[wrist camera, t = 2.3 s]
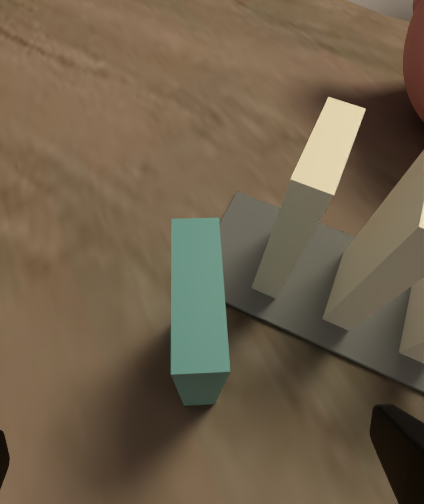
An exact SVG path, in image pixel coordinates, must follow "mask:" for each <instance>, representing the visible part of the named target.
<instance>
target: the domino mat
mask: <svg viewBox="0 0 424 504" xmlns="http://www.w3.org/2000/svg"><path fill="white" fill-rule="evenodd" d="M279 210H280V208H279V207H277V206H274V205H272V204H269V203H266V202H264V201H261V200H259V199H256V198H254V197H251V196H248V195H246V194H243V193H241V192H238V191H237V193H236V194H235V196H234V198H233V200H232V202H231V204H230V205H229V207H228V209H227V211H226V213H225V214H224V216H223V218H222V220H221V222H220V224H219V225H220V238H221V252H222V265H223V279H224V292H225V304H227V305H229V306H232V307H234V308H236V309H238V310H240V311H243V312H245V313H247V314H249V315H251V316H254V317H256V318H258V319H260V320H263V321H265V322H267V323H269V324H271V325H274V326H276V327H278V328H280V329H282V330H285V331H287V332H289V333H291V334H293V335H296V336H298V337H300V338H302V339H304V340H307V341H309V342H311V343H313V344H316V345H318V346H320V347H322V348H324V349H327V350H329V351H331V352H333V353H335V354H338V355H340V356H342V357H344V358H346V359H349V360H351V361H353V362H355V363H357V364H360V365H362V366H364V367H366V368H368V369H371V370H373V371H375V372H377V373H380V374H382V375H384V376H386V377H388V378H391V379H393V380H395V381H397V382H399V383H402V384H404V385H406V386H408V387H410V388H413V389H415V390H417V391H419V392H421V393H424V363H421V362H419V361H417V360H414V359H412V358H410V357H408V356H405V355H403V354H401V353H399V349H400V344H401V339H402V333H403V328H404V323H405V318H406V313H407V308H408V302H409V297H410V292H411V287H412V286H411V287H410V288H408V289H407V290H405V291H404V292H403V293H401V294H400V295H398V296H397V297H395V298H394V299H393V300H391V301H390V302H388V303H387V304H386V305H384V306H383V307H381V308H380V309H379V310H377V311H376V312H374V313H373V314H372V315H370V316H369V317H367V318H366V319H365V320H363V321H362V322H360V323H359V324H358V325H356V326H355V327H353V328H352V329H351V330H349V331H348V330H346V329H344V328H341V327H339V326H337V325H335V324H332V323H330V322H328V321H325V320H323V319H322V318H323V315H324V312H325V309H326V306H327V303H328V299H329V296H330V293H331V290H332V287H333V284H334V281H335V277H336V274H337V271H338V268H339V265H340V262H341V258H342V255H343V252H344V251H345V250H346V248H347V247H348V246H349V244H350V243H351V242H352V241H353V239H354V238H355V237H354V236H351V235H349V234H346V233H344V232H341V231H339V230H336V229H333V228H331V227H328V226H326V225H323V224H321V223H318V225H317V227H316V229H315V230H314V232H313V234H312V236H311V237H310V239H309V241H308V243H307V245H306V246H305V248H304V250H303V252H302V254H301V255H300V257H299V259H298V261H297V262H296V264H295V266H294V268H293V270H292V271H291V273H290V275H289V277H288V278H287V280H286V282H285V284H284V286H283V287H282V289H281V291H280V293H279V294H278V296H277V298H276V299H275V298H273V297H271V296H268V295H266V294H264V293H261V292H259V291H257V290H255V289H252V285H253V282H254V280H255V277H256V274H257V271H258V268H259V266H260V263H261V260H262V257H263V254H264V252H265V249H266V246H267V243H268V240H269V238H270V235H271V232H272V229H273V226H274V224H275V221H276V218H277V215H278V213H279Z"/></svg>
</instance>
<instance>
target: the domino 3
mask: <svg viewBox="0 0 424 504" xmlns="http://www.w3.org/2000/svg"><path fill="white" fill-rule="evenodd" d="M399 353H401V354H403V355H405V356H408V357H410V358H412V359H414V360H417V361H419V362H421V363H424V278H422V279H421V280H419V281H418V282H417V283H415V284H414V285H412V287H411V292H410V297H409V302H408V308H407V313H406V318H405V323H404V328H403V333H402V339H401V344H400V349H399Z"/></svg>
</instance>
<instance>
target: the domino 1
mask: <svg viewBox="0 0 424 504" xmlns="http://www.w3.org/2000/svg"><path fill="white" fill-rule="evenodd" d="M365 110H366V109H365V108H362V107H359V106H356V105H353V104H350V103H347V102H344V101H340V100H337V99H334V98H331V97H328V99H327V101H326V103H325V105H324V108H323V110H322V112H321V114H320V116H319V118H318V121H317V123H316V125H315V127H314V129H313V131H312V134H311V136H310V138H309V140H308V142H307V144H306V147H305V149H304V151H303V153H302V155H301V157H300V160H299V162H298V164H297V166H296V168H295V170H294V173H293V175H292V177H291V179H290V182H289V185H288V187H287V190H286V193H285V196H284V199H283V201H282V204H281V207H280V210H279V213H278V215H277V218H276V221H275V224H274V226H273V229H272V232H271V235H270V238H269V240H268V243H267V246H266V249H265V252H264V254H263V257H262V260H261V263H260V266H259V268H258V271H257V274H256V277H255V280H254V282H253V285H252V289H255V290H257V291H259V292H261V293H264V294H266V295H268V296H271V297H273V298H275V299H276V298H277V296H278V294H279V293H280V291H281V289H282V287H283V286H284V284H285V282H286V280H287V278H288V277H289V275H290V273H291V271H292V270H293V268H294V266H295V264H296V262H297V261H298V259H299V257H300V255H301V254H302V252H303V250H304V248H305V246H306V245H307V243H308V241H309V239H310V237H311V236H312V234H313V232H314V230H315V229H316V227H317V225H318V223H319V221H320V220H321V218H322V216H323V214H324V213H325V211H326V209H327V207H328V205H329V204H330V202H331V200H332V198H333V197H334V194H335V192H336V189H337V186H338V184H339V181H340V178H341V175H342V173H343V170H344V167H345V164H346V162H347V159H348V156H349V154H350V151H351V148H352V145H353V143H354V140H355V137H356V135H357V132H358V129H359V126H360V124H361V121H362V118H363V115H364V113H365Z"/></svg>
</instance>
